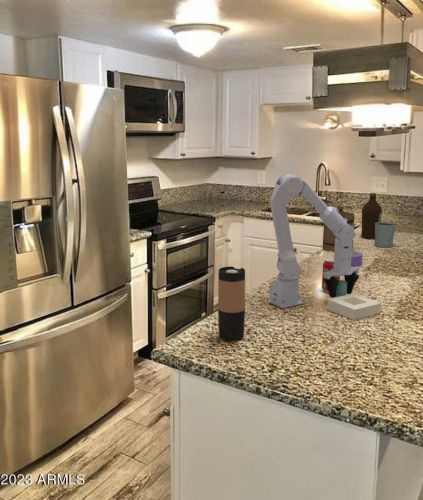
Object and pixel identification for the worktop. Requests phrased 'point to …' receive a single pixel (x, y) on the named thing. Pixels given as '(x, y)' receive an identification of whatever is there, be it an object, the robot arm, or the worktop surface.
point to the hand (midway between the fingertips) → (340, 295)
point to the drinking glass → (384, 234)
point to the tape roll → (356, 259)
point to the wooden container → (328, 234)
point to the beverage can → (327, 267)
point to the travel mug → (231, 303)
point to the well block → (354, 306)
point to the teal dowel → (341, 288)
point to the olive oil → (370, 217)
